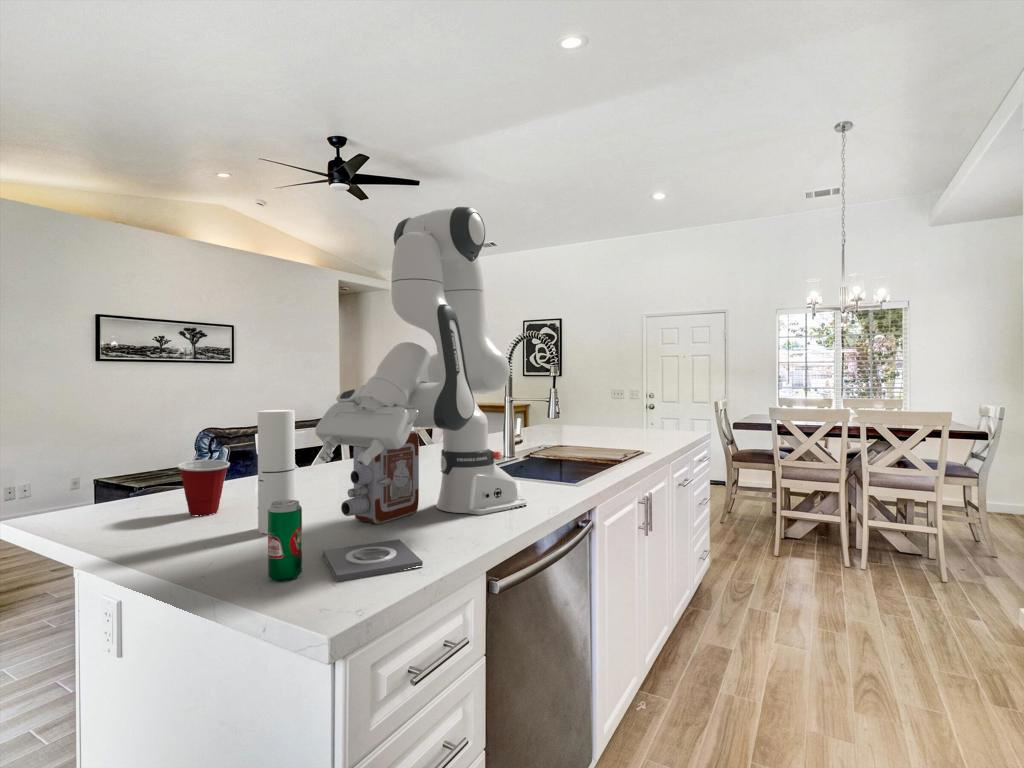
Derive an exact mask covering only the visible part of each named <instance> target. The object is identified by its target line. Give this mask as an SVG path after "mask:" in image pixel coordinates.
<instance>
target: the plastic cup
mask: <svg viewBox="0 0 1024 768" xmlns="http://www.w3.org/2000/svg"><path fill="white" fill-rule="evenodd" d="M230 465H231V463H230V462H228V461H227V460H221V459H195V460H189V461H183V462H180V463H178V464H177V466H176V467H177V469H178V470H179V473H180V475H181V481H182V485H183V489H184V496H185V501H186V503H187V504H186V505H187V508H188V513H189V515H190V514H191V515H198V516H197V517H201V516H200V515H207V516H210V515H209V514H212V515H214V514H213V513H215V514H217V513H218V512H217V511H219V509H220V508H219V507H220V502H221V499H222V493H223V487H224V482H225V477H226V474H227V470H228V468H229V467H230ZM216 512H217V513H216ZM191 515H190V516H191Z"/></svg>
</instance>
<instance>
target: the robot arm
mask: <svg viewBox="0 0 1024 768" xmlns="http://www.w3.org/2000/svg"><path fill="white" fill-rule="evenodd" d="M477 211H478V210H476V209H475V208H474V207H467V206H457V207H455V208H443V209H436V210H432V211H430V212H426V213H423V214H422V213H421V214H418V215H416V216H409V217H406V218H404V219H403V220H401V221H400V222H399V223H397V224H396V225H397V226H396V227H395V230H394V233H393V243H394V250H393V256H392V257H393V258H392V262H391V263H392V264H391V265H392V266H391V281H390V282H391V286H390V287H391V289H390V290H391V302H392V306H393V309H394V312H395V313H396V314H397V316H398V317H400V318H401V320H403V321H404V322H406V323H407V324H409V325H412V326H414V327H416V328H417V329H421V330H423V331H426V333H428V334H429V335H430V336H431V337H432V339H433V341H434V342H435V345H436V350H437V351H436V352H437V353H434V354H432V355H430V352H429V351H428V350H427V349H426V348H425V347H424V346H422V345H421V344H418V343H415V342H408V341H407V342H400V343H398V344H396V345H394V346H393V348H391V349H390V351H389V352H388V353H387V354H386V355H385V356H384V357H383V359H382V360H381V362H380V363H379V365H378V367H377V369H376V371H375V374H373V376H372V377H371V378H369V379H368V380H367V382H366V383H365V384H362V385H359V386H357V387H355V388H353V389H349V390H344V391H342V392H340V393H339V394H338V395H337V396H336V398H335V400H336V403H334V404H333V405H331V406H330V407H329V408H328V409H327V411H325V413H324V415H323V416H322V417H321V418H320V420H319V421H318V423H317V424H316V426H315V434H316V436H317V438H318V439H319V440H321V442H322V449H321V451H320V453H319V454H318V458H319V459H320V460H321V461H322V462H330V461H331V459H332V458H333V457H334V454H333V452H332V451H333V449H334V448H336V447H337V445H342V446H343V445H344V446H353V447H354V446H364V447H370V448H368V449H367V450H366V451H365V452H361V453H360V454H359V456H358V458H357V461H358V462H359V464H360V465H368V464H369V463H370V461H371V460H372V458H374V457H376V456H377V455H378V454H380V453H381V452H382V451H383V449H384V448H388V449H399V448H401V447H402V446H404V444H405V443H406V441H407V439H408V437H409V435H410V432H411V431H413V427H414V428H425V429H440V430H442V449H441V451H440V452H441V455H440V469H441V473H442V475H441V483H440V489H439V494H438V495H439V496H438V499H437V502H436V505H435V507H436V509H438V510H440V511H443V512H448V513H455V514H456V513H458V514H470V515H486V514H491V513H495V512H496V513H497V512H501V511H507V510H512V509H516V508H515V507H517V508H520V507H519V506H522V507H525V506H524V505H526V504H527V500H526V498H525V497H523V496H520V495H519V493H518V487H517V482H516V481H515V479H514V478H513V477H512V475H510V474H509V473H507V472H506V471H505V470H504V469H502V468H501V467H499V466H498V465H497V464H496V463H495V460H497V461H499V460H501V459H502V457H503V454H502V453H501V451H497V450H494V451H493V450H491V449H490V448H489V447H488V446H489V443H488V442H489V441H488V440H489V437H488V436H489V431H488V430H489V427H488V426H489V421H488V417H487V415H486V414H485V413H484V412H483V411H482V410H481V409H480V407H479V405H478V404H477V401H476V397H475V394H476V395H477V394H478V395H486V394H489V393H494V392H498V391H500V390H502V389H503V388H505V387H506V386H507V383H508V381H509V379H510V376H511V367H510V363H509V362H510V361H509V360H508V358H507V357H506V355H504V353H503V352H501V350H499V348H498V347H497V346H496V344H495V342H494V341H493V339H492V336H491V334H490V331H489V327H488V324H487V317H486V309H485V307H486V306H485V305H486V304H485V294H484V293H485V291H484V290H485V289H484V279H483V272H482V269H481V267H482V266H481V262H480V259H479V254H480V252H481V251H482V248H483V246H484V243H485V241H486V240H485V239H486V227H485V223H484V220H483V218H482V217H481V215H480V213H479V212H477ZM526 506H527V505H526ZM511 508H512V509H511Z"/></svg>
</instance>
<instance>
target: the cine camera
mask: <svg viewBox="0 0 1024 768" xmlns="http://www.w3.org/2000/svg"><path fill="white" fill-rule="evenodd" d="M419 440H420V439H419V435H418V432H416V431H415V430H411V432H410V435H409V437H408V439H407V441H406V443H405V444H404V446H402V447H401V448H399V449H388V448H384V449H383V451H382V452H381V453H380V454H378V455H377V456H376V457H374V458H372V460H371V461H370V463H369V464H368V465H360V464H359V462H358V461H357V458H358V456H359V454H360V453H361V452H365V451H366V450H367V449H368V448H370V447H364V446H353V470H352V471H351V473H350V481H351V482H352V484H353V488H349V489H348V490H347V497H348V499H346V500H344V501H342V503H341V504H340V505H341V506H340V509H341V513H342V514H343V516H346V517H351V516H352V517H355V520H358V521H361V522H366V523H371V524H374V525H375V524H376V525H379V524H383V523H386V522H387V523H388V522H390V521H393V520H397V519H400V518H404V517H406V516H410V515H413V514H415V513H416V512H417V511H418V508H419V500H420V499H419V498H420V496H419V495H420V493H419V492H420V491H419V489H420V486H419V485H420V481H419V480H420V476H419V474H420V472H419V470H420V467H419V465H420V464H419V463H420V455H419V453H420V451H419V450H420V448H419V447H420V446H419Z"/></svg>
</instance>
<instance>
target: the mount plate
mask: <svg viewBox="0 0 1024 768" xmlns="http://www.w3.org/2000/svg"><path fill="white" fill-rule="evenodd" d="M322 557H323V558H324V560H325V562H326V564H327V565H328V567H329V569H331V570H330V572H331V573H332V574H333V577H334V578H335V581H336V582H337V581H338V582H343V580H344V581H349V579H350V580H355V578H356V579H361V578H360V577H362V578H365V576H368V577H372V576H371V575H374V576H378V575H377V574H380V575H384V574H383V573H385V574H389V573H388V572H391V573H394V572H393V571H397V572H401V571H400V570H403V571H405V570H404V569H408V568H412V567H416V566H422V565H423V563H424V562H423V560H422V559H421V558H420V557H419V556H417V554H415V553H414V552H413V550H412V549H411V548H409V547H408V546H407V545H406V544H405V543H404V542H403V541H402V540H401V539H391V540H384V541H383V540H382V541H378V542H377V541H376V542H370V543H363V544H354V545H351V546H350V545H348V546H342V547H335V548H329V549H323V550H322Z"/></svg>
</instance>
